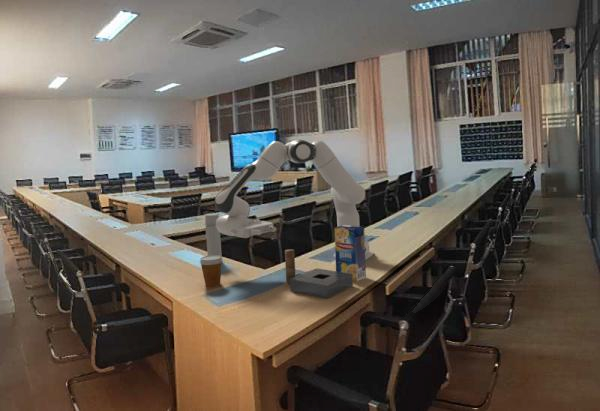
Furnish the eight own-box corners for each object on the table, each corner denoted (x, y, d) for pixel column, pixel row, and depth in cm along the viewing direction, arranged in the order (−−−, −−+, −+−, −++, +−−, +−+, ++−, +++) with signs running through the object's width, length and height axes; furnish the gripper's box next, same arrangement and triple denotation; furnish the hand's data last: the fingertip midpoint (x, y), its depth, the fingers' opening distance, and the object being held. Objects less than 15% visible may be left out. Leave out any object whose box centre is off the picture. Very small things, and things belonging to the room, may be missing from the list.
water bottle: (225, 261, 231) (221, 214, 228) (210, 264, 227) (207, 216, 223) (217, 258, 239) (214, 212, 235) (203, 261, 234) (200, 214, 231)
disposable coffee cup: (199, 283, 194) (197, 256, 193) (221, 280, 198) (219, 253, 197) (204, 289, 186) (201, 261, 184) (226, 285, 189) (224, 258, 188)
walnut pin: (290, 280, 192) (288, 249, 190) (297, 282, 190) (296, 250, 188) (284, 283, 189) (282, 251, 187) (291, 284, 187) (290, 251, 185)
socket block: (316, 279, 192) (316, 268, 192) (352, 285, 181) (352, 273, 180) (290, 291, 178) (289, 279, 178) (327, 298, 167) (327, 285, 166)
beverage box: (345, 273, 199) (344, 225, 197) (366, 277, 192) (364, 227, 189) (336, 277, 195) (334, 227, 192) (356, 281, 187) (354, 229, 184)
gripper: (227, 224, 193) (251, 227, 185) (259, 218, 209) (282, 221, 201) (228, 238, 194) (251, 242, 186) (259, 231, 210) (282, 234, 202)
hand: (267, 231), depth 194 cm, fingers open, 8 cm apart
